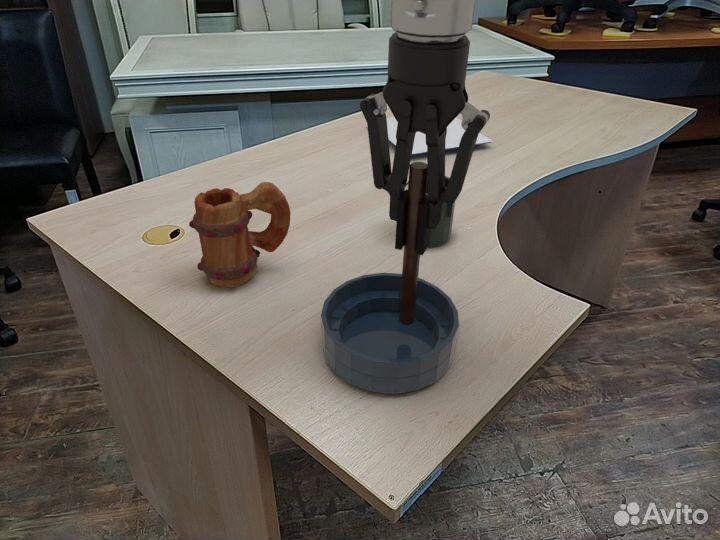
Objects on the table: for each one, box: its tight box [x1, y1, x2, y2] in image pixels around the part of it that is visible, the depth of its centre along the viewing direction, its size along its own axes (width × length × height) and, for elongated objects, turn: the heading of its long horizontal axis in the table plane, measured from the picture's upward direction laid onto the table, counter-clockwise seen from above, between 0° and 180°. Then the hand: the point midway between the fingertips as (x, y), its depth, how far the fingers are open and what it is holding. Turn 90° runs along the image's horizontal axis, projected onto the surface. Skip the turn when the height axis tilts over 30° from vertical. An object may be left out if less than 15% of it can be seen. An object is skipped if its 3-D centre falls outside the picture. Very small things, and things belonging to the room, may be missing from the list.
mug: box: [188, 181, 291, 288], centre depth 79 cm, size 15×8×15 cm, turn 108°
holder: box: [406, 175, 456, 249], centre depth 90 cm, size 8×8×10 cm
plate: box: [386, 116, 493, 156], centre depth 129 cm, size 22×22×2 cm
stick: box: [399, 161, 428, 325], centre depth 63 cm, size 2×2×22 cm
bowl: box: [320, 272, 460, 395], centre depth 68 cm, size 17×17×6 cm
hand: (412, 245), depth 63 cm, fingers closed on stick, 2 cm apart
